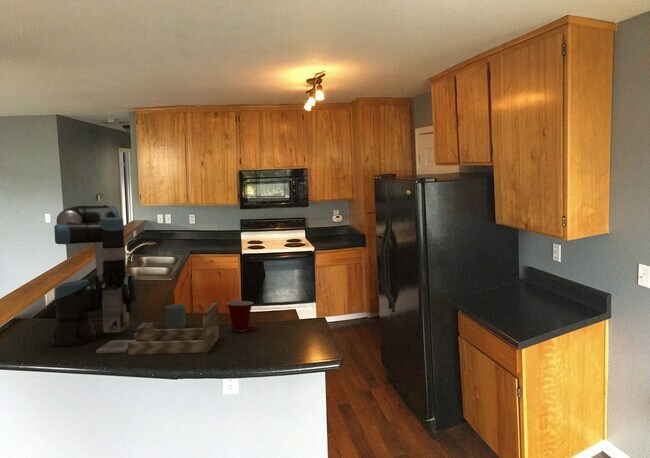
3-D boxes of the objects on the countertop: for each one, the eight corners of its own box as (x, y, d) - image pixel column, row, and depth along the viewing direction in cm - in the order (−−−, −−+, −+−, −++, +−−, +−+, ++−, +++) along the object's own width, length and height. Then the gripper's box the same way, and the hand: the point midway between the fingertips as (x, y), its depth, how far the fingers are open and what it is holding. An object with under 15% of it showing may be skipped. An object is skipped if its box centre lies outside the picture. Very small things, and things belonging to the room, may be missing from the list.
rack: (128, 354, 158) (126, 315, 157) (147, 339, 176) (145, 304, 175) (208, 352, 158) (207, 312, 158) (218, 337, 176) (217, 302, 176)
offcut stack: (134, 351, 162) (133, 329, 161) (144, 342, 172) (143, 322, 171) (148, 350, 162) (147, 328, 161) (158, 342, 172) (157, 321, 171)
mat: (96, 353, 160) (96, 350, 160) (111, 343, 172) (111, 340, 172) (124, 352, 160) (124, 349, 160) (137, 342, 172) (137, 339, 172)
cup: (180, 332, 186) (179, 308, 186) (163, 331, 188) (162, 307, 187) (189, 327, 194) (188, 304, 193) (173, 326, 195) (172, 303, 195)
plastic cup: (259, 328, 189) (258, 300, 189) (244, 335, 179) (243, 305, 179) (237, 326, 194) (237, 298, 193) (222, 332, 184) (221, 303, 183)
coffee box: (112, 326, 170) (110, 284, 170) (130, 325, 171) (128, 283, 170) (102, 333, 161) (100, 288, 160) (121, 332, 162) (119, 287, 161)
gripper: (81, 261, 161) (84, 324, 162) (136, 259, 161) (139, 323, 162) (91, 258, 168) (94, 319, 169) (144, 257, 169) (147, 318, 170)
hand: (116, 321), depth 166 cm, fingers closed on coffee box, 7 cm apart
